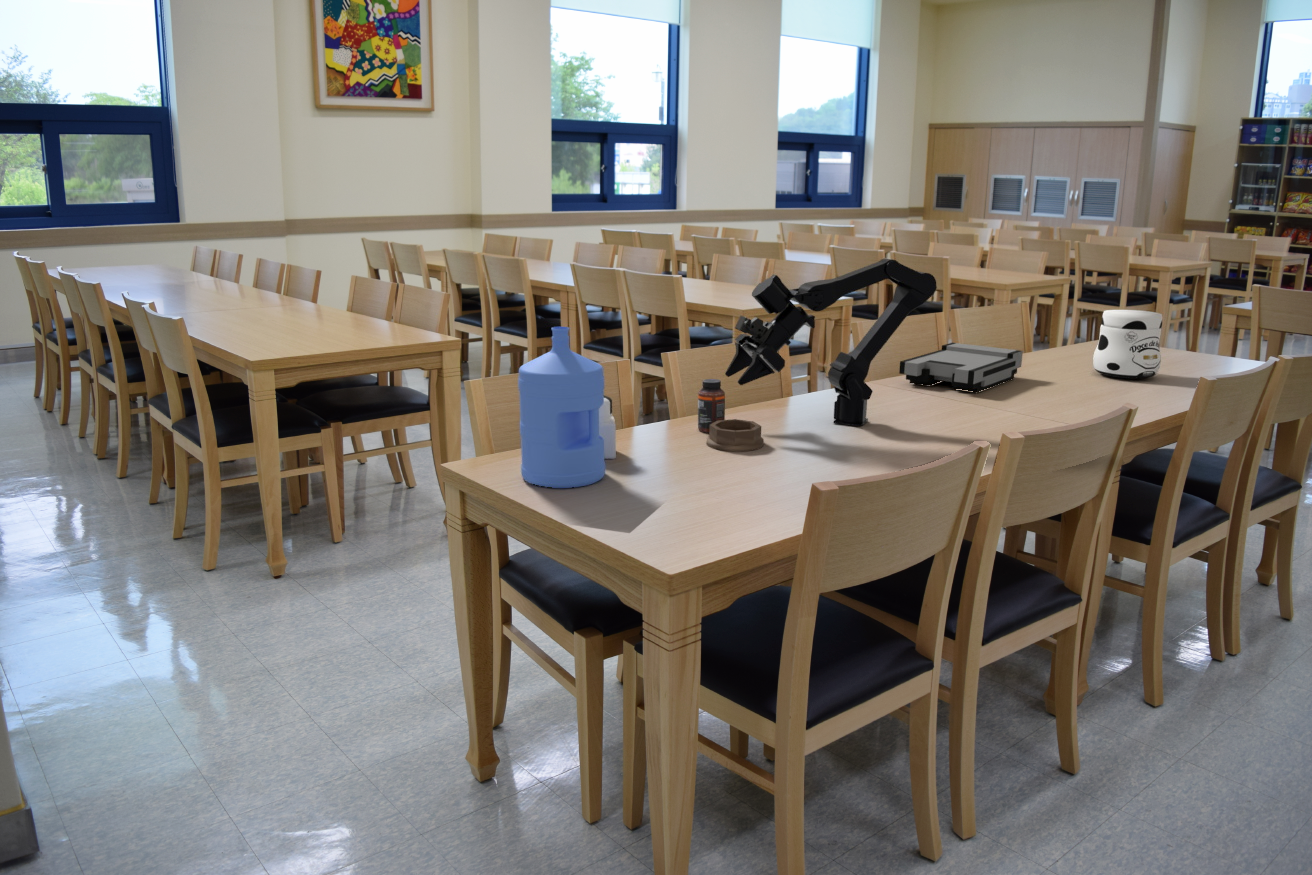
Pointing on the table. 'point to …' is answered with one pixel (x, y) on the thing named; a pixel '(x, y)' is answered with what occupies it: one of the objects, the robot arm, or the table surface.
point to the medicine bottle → (607, 428)
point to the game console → (963, 366)
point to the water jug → (561, 417)
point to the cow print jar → (1129, 344)
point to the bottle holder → (735, 435)
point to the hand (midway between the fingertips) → (732, 379)
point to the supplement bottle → (710, 404)
